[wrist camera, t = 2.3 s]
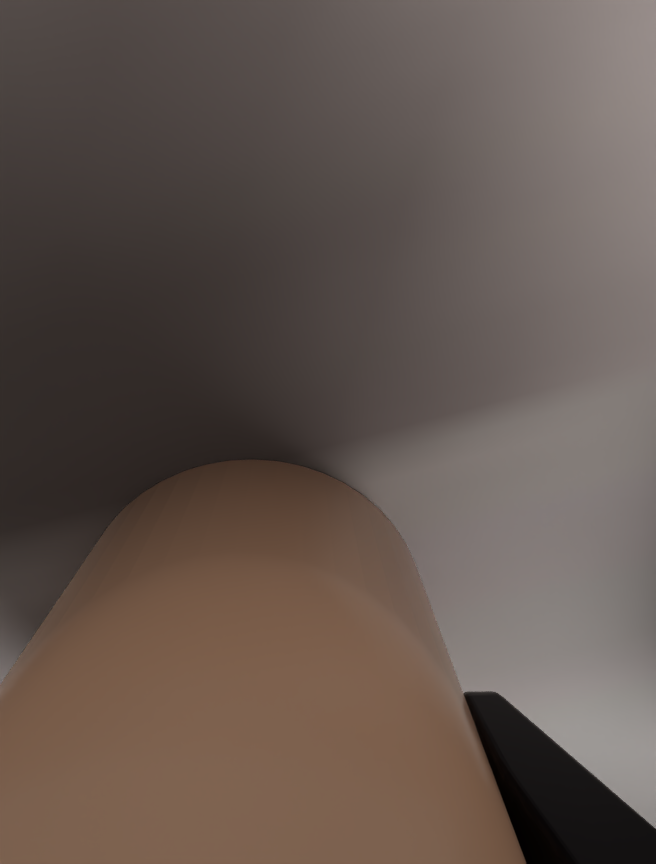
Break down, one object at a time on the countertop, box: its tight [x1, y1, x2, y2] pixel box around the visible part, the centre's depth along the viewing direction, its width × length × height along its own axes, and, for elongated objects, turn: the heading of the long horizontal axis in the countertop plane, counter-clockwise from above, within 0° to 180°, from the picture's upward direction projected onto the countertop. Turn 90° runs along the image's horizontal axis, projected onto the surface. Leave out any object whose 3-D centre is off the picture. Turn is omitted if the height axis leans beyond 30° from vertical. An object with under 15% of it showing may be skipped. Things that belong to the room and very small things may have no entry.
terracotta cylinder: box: [0, 459, 526, 864], centre depth 6 cm, size 5×5×7 cm
